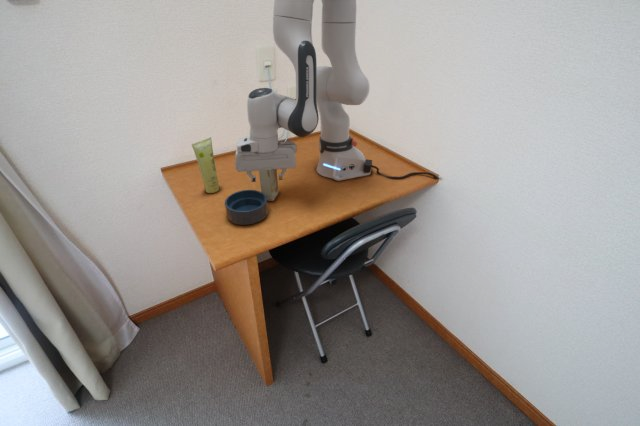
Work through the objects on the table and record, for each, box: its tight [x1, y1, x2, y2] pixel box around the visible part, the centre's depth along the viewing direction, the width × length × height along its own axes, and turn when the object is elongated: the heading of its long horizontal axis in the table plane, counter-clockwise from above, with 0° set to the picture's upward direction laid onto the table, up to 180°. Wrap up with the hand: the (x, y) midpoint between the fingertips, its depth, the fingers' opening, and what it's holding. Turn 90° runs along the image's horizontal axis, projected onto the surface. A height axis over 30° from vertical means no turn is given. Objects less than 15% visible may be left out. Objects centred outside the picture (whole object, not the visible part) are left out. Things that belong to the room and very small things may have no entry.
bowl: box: [224, 189, 269, 226], centre depth 102 cm, size 13×13×6 cm
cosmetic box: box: [258, 168, 279, 202], centre depth 110 cm, size 6×4×12 cm
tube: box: [191, 137, 220, 194], centre depth 111 cm, size 6×5×20 cm
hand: (267, 180), depth 109 cm, fingers open, 8 cm apart
